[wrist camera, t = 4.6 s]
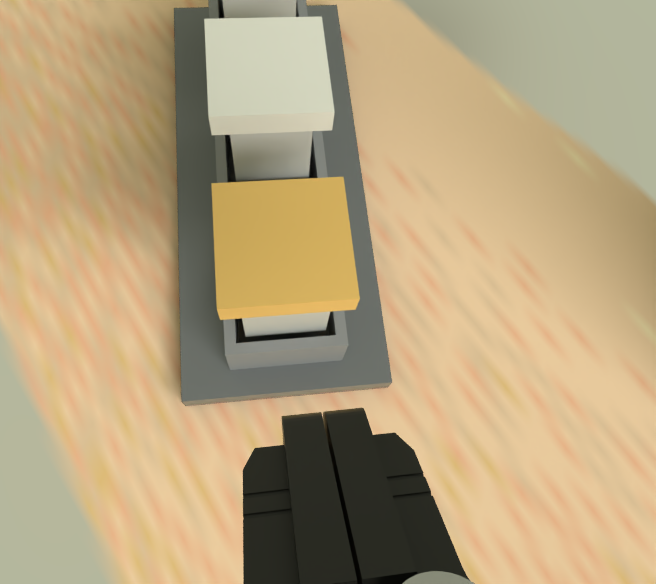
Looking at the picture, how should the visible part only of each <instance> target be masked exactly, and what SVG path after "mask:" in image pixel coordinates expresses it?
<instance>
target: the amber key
mask: <svg viewBox="0 0 656 584" xmlns="http://www.w3.org/2000/svg"><path fill="white" fill-rule="evenodd" d="M211 184H212V207H213V231H214V254H215V278H216V301H217V311H218V315H219V318H220V320H227V319H240V318H242V321H243V326H244V331H245V336H246V337H252V336H265V335H277V334H289V333H302V332H314V331H326V327H327V323H328V319H329V315H330V312H331V311H344V310H356V307H357V305H358V302H359V300H360V296H359V288H358V281H357V274H356V266H355V259H354V251H353V244H352V236H351V229H350V221H349V214H348V207H347V199H346V192H345V184H344V177H326V178H307V179H287V180H267V181H247V182H228V183H211Z"/></svg>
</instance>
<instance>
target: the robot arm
mask: <svg viewBox="0 0 656 584" xmlns="http://www.w3.org/2000/svg"><path fill="white" fill-rule="evenodd" d="M282 430H283V444H284V445H280V446H271V447H261V448H255V449H254V451H253V452H252V454H251V456H250V458H249V460H248V462H247V463H246V465H245V467H244V469H243V518H244V520H243V554H244V584H474V583H473V582H471V581H470V580H469V578H468V577H467V576H466V574H465V572H464V570H463V568H462V565H461V563H460V560H459V558H458V556H457V553H456V551H455V548H454V546H453V544H452V541H451V539H450V536H449V534H448V532H447V529H446V527H445V524H444V522H443V519H442V517H441V515H440V512H439V510H438V507H437V505H436V503H435V500H434V498H433V496H431V490H430V488H429V486H428V483H427V481H426V478H425V477H424V476H423V471H422V469H421V466H420V464H419V461H418V459H417V457H416V454H415V452H414V450H413V449H412V448H411V447H410V446H409V445H408V444H407V443H405V442H404V441H403V440H402V439H401V438H400V437H399V436H398V435H397V434H396V433H387V434H378V435H372V431H371V428H370V425H369V422H368V419H367V416H366V413H365V411H364V409H363V408H356V409H346V410H336V411H327V412H324V413H323V418H322V414H321V412H319V413H309V414H299V415H290V416H282Z"/></svg>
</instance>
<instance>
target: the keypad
mask: <svg viewBox="0 0 656 584" xmlns="http://www.w3.org/2000/svg"><path fill="white" fill-rule="evenodd" d="M321 16H322V22H323V29H324V37H325V44H326V52H327V59H328V66H329V74H330V81H331V89H332V96H333V104H334V111H335V113H334V120H333V127H332V130H329V131H313V133H312V145H311V156H310V168H309V178H326V177H344V184H345V192H346V199H347V207H348V214H349V221H350V229H351V236H352V244H353V251H354V259H355V266H356V274H357V281H358V288H359V296H360V300H359V302H358V305H357V307H356V310H344V311H331V312H330V315H329V319H328V323H327V327H326V331H314V332H302V333H289V334H277V335H265V336H252V337H246V336H245V331H244V326H243V321H242V318H240V319H227V320H220V318H219V315H218V311H217V301H216V278H215V254H214V231H213V207H212V184H211V183H228V182H236V176H235V169H234V161H233V154H232V146H231V138H230V135H212V134H211V128H210V123H209V117H208V95H207V71H206V47H205V24H204V19H218V18H224V10H223V1H222V0H209V7H204V8H174V31H175V84H176V136H177V189H178V241H179V293H180V346H181V398H182V403H183V404H184V405H185V406H192V405H203V404H213V403H224V402H235V401H246V400H257V399H267V398H278V397H289V396H300V395H311V394H321V393H332V392H343V391H354V390H365V389H375V388H386V387H388V386H389V385H390V384H391V383H392V378H391V372H390V365H389V358H388V351H387V344H386V338H385V331H384V324H383V317H382V310H381V304H380V297H379V290H378V283H377V276H376V270H375V263H374V256H373V249H372V242H371V236H370V229H369V222H368V215H367V208H366V202H365V195H364V188H363V181H362V174H361V168H360V161H359V154H358V147H357V140H356V133H355V127H354V120H353V113H352V106H351V99H350V93H349V86H348V79H347V72H346V65H345V59H344V52H343V45H342V38H341V31H340V25H339V18H338V11H337V5H321V6H307V5H306V0H296V17H321ZM301 179H307V178H301ZM281 180H287V179H281ZM261 181H267V180H261ZM241 182H247V181H241Z"/></svg>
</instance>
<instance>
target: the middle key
mask: <svg viewBox="0 0 656 584" xmlns="http://www.w3.org/2000/svg"><path fill="white" fill-rule="evenodd" d="M204 24H205V47H206V71H207V95H208V117H209V123H210V128H211V134H212V135H230V138H231V146H232V154H233V161H234V169H235V176H236V182H241V181H261V180H281V179H301V178H309V168H310V156H311V145H312V133H313V131H329V130H332V127H333V120H334V113H335V111H334V104H333V96H332V89H331V81H330V74H329V66H328V59H327V52H326V44H325V37H324V29H323V22H322V16H321V17H269V18H218V19H204Z"/></svg>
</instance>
